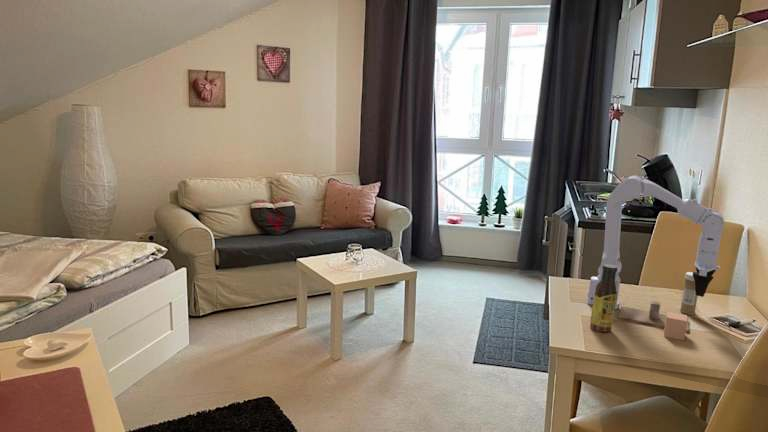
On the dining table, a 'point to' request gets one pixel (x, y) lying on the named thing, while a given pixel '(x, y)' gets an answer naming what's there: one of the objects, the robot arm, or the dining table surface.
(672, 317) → the pink block
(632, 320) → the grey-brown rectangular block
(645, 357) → the dining table surface
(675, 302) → the dining table surface
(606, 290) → the sauce bottle
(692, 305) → the sprinkles bottle
